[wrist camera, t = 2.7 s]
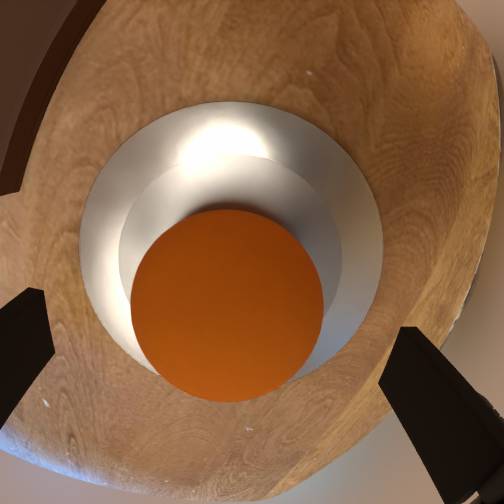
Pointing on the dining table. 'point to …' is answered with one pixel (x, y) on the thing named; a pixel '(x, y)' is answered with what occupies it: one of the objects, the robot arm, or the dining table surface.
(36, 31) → the tray
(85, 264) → the plate
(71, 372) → the dining table surface
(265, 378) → the orange
